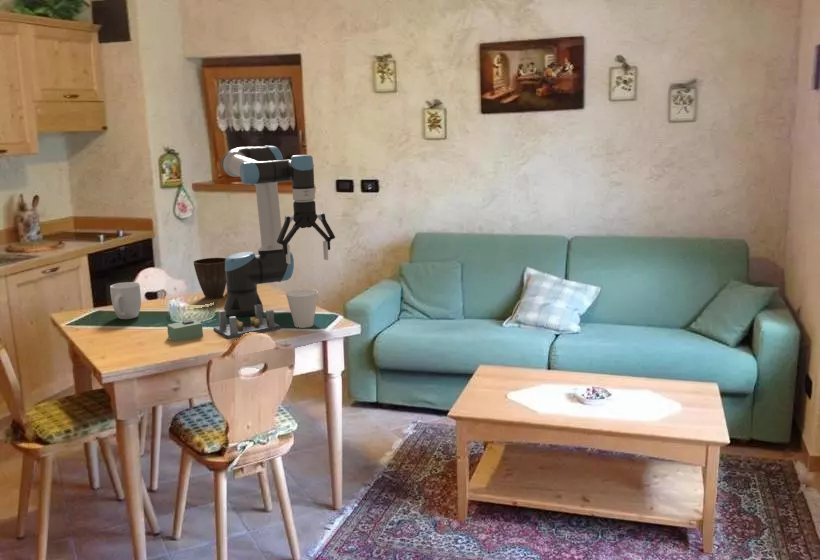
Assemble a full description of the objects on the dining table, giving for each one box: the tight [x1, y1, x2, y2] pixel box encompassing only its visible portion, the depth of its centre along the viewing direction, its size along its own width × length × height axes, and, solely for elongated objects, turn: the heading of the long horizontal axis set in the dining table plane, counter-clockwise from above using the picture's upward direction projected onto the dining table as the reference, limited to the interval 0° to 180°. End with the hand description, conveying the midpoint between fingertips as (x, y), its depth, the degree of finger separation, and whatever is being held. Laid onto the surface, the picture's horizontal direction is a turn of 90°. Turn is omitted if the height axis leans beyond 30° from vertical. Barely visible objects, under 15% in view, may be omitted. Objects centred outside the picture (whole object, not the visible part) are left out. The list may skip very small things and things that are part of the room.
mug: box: [109, 281, 142, 320], centre depth 300 cm, size 15×11×13 cm
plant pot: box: [193, 257, 227, 299], centre depth 333 cm, size 15×15×16 cm
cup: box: [285, 288, 319, 329], centre depth 283 cm, size 12×12×12 cm
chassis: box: [213, 304, 281, 339], centre depth 280 cm, size 20×14×7 cm
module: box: [166, 319, 204, 343], centre depth 273 cm, size 10×7×6 cm
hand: (307, 261), depth 268 cm, fingers open, 13 cm apart
